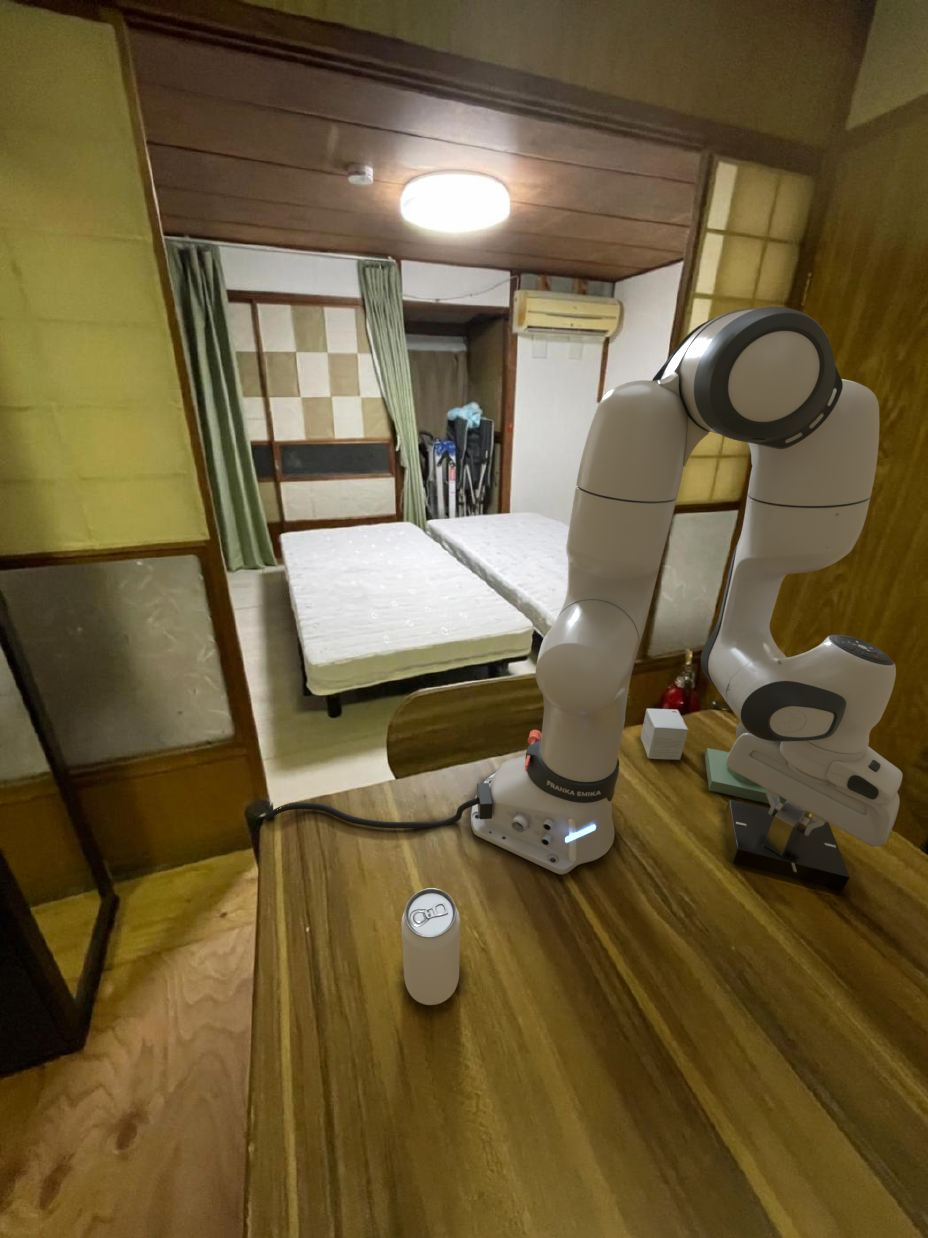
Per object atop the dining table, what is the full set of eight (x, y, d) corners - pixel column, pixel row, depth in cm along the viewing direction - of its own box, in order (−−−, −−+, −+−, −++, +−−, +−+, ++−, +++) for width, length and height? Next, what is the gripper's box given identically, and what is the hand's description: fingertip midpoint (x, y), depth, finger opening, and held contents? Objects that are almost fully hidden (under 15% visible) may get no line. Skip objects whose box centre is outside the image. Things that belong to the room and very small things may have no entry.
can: (398, 961, 62) (393, 895, 57) (448, 941, 64) (448, 877, 59) (413, 1017, 57) (410, 951, 52) (467, 994, 59) (469, 928, 54)
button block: (709, 790, 88) (714, 772, 86) (704, 757, 96) (709, 740, 94) (787, 808, 85) (794, 790, 83) (776, 772, 93) (782, 754, 91)
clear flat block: (781, 856, 73) (794, 825, 70) (763, 845, 74) (775, 814, 72) (805, 824, 78) (818, 794, 75) (787, 814, 80) (799, 784, 77)
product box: (639, 737, 101) (645, 707, 97) (671, 739, 100) (678, 708, 97) (647, 759, 95) (654, 727, 92) (681, 761, 95) (689, 729, 92)
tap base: (734, 872, 74) (739, 856, 73) (723, 805, 85) (728, 791, 84) (846, 901, 70) (854, 886, 69) (819, 828, 81) (826, 813, 80)
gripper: (732, 721, 74) (710, 792, 80) (906, 804, 60) (863, 883, 66) (750, 704, 78) (728, 774, 84) (918, 780, 64) (877, 856, 70)
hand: (789, 823), depth 75 cm, fingers closed on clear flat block, 2 cm apart
